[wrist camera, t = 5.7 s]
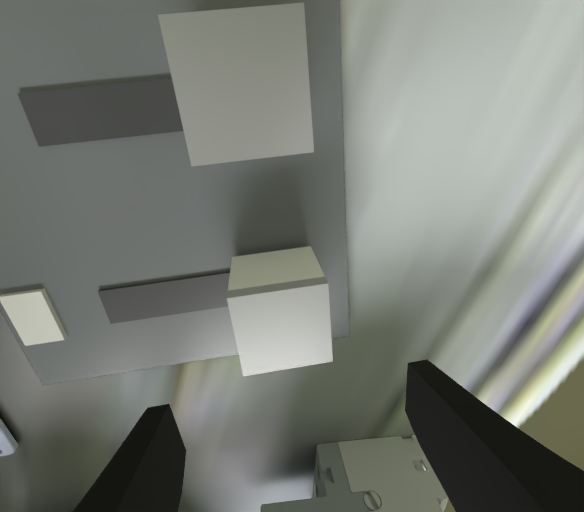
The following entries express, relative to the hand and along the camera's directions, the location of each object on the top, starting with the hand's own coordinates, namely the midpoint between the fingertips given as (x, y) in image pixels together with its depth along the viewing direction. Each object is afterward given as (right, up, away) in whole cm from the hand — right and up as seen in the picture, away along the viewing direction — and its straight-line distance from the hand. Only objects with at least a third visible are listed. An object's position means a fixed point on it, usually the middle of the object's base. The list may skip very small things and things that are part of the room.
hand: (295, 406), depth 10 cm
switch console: (-7, +7, +6) cm, 12 cm away
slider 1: (-2, +11, +4) cm, 12 cm away
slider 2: (-1, +3, +7) cm, 8 cm away
